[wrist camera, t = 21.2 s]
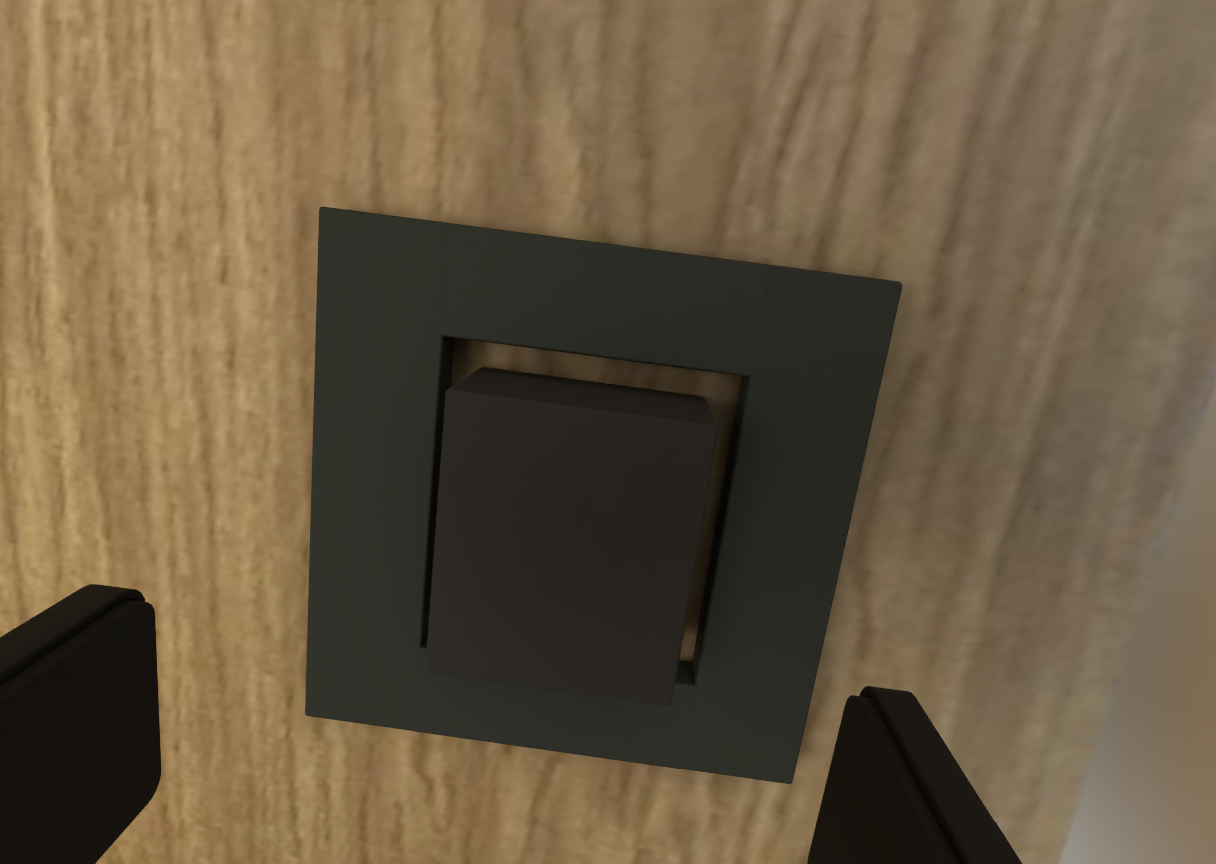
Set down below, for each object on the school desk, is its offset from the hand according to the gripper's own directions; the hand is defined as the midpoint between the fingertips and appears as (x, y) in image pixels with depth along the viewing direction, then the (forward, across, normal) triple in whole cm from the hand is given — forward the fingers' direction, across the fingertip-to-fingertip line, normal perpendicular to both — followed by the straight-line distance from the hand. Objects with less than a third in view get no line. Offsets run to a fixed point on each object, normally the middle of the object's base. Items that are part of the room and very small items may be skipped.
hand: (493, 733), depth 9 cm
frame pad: (+10, 0, 0) cm, 10 cm away
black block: (+10, 0, 0) cm, 10 cm away
